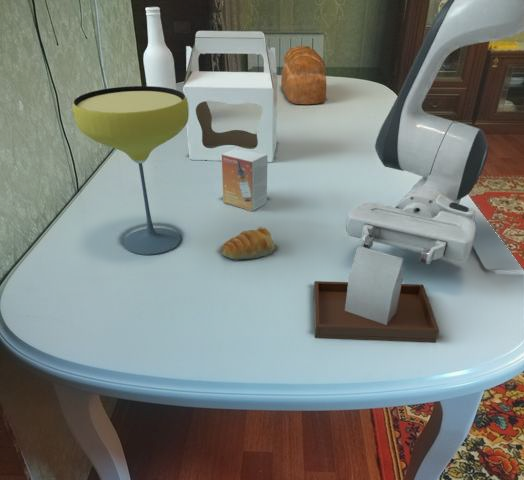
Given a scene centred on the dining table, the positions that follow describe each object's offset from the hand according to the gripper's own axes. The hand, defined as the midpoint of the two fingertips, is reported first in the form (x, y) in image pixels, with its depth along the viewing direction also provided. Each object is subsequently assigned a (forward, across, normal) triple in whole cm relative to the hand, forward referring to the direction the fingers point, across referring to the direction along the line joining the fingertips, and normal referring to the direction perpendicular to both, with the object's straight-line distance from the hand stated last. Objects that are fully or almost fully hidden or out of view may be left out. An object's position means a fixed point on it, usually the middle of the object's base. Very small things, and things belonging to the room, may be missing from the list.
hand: (394, 251), depth 77 cm
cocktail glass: (+4, -45, +8) cm, 46 cm away
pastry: (-1, -26, +8) cm, 28 cm away
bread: (-113, -71, +8) cm, 134 cm away
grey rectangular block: (+7, 0, +7) cm, 10 cm away
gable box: (-47, -58, +8) cm, 75 cm away
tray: (+7, 0, +8) cm, 10 cm away
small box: (-20, -39, +8) cm, 44 cm away
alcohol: (-62, -94, +8) cm, 113 cm away
